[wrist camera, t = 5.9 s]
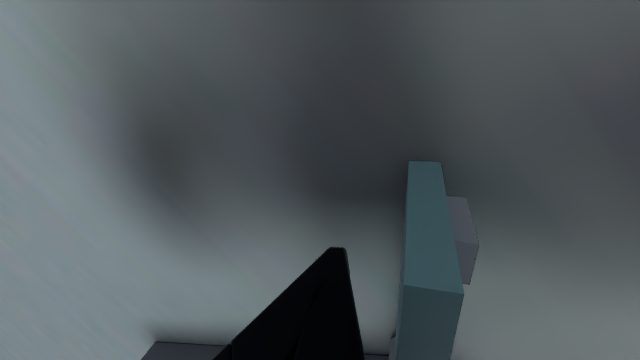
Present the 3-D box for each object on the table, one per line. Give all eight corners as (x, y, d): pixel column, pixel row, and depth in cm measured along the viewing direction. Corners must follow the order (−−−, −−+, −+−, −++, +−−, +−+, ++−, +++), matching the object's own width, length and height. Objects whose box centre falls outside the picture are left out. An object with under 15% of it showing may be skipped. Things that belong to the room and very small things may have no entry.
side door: (426, 360, 12) (433, 529, 8) (389, 352, 12) (377, 509, 8) (459, 161, 8) (501, 305, 4) (401, 158, 8) (389, 287, 4)
